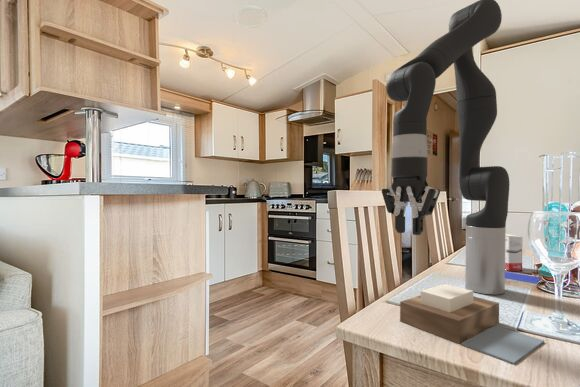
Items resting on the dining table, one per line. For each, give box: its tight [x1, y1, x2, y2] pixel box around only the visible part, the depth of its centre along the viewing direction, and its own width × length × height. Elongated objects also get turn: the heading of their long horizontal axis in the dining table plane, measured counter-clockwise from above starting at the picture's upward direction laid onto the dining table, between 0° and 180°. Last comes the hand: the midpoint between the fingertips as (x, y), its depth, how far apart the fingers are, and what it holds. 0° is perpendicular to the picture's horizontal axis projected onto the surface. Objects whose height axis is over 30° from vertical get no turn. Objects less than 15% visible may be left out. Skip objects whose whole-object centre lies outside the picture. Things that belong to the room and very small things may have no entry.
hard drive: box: [505, 271, 541, 287], centre depth 101 cm, size 2×8×12 cm
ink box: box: [505, 233, 523, 272], centre depth 114 cm, size 9×5×12 cm, turn 179°
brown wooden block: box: [399, 294, 500, 344], centre depth 67 cm, size 16×12×4 cm
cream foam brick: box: [420, 283, 474, 312], centre depth 67 cm, size 9×6×2 cm, turn 126°
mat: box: [461, 324, 545, 365], centre depth 58 cm, size 13×8×1 cm, turn 126°
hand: (408, 233), depth 74 cm, fingers open, 3 cm apart
